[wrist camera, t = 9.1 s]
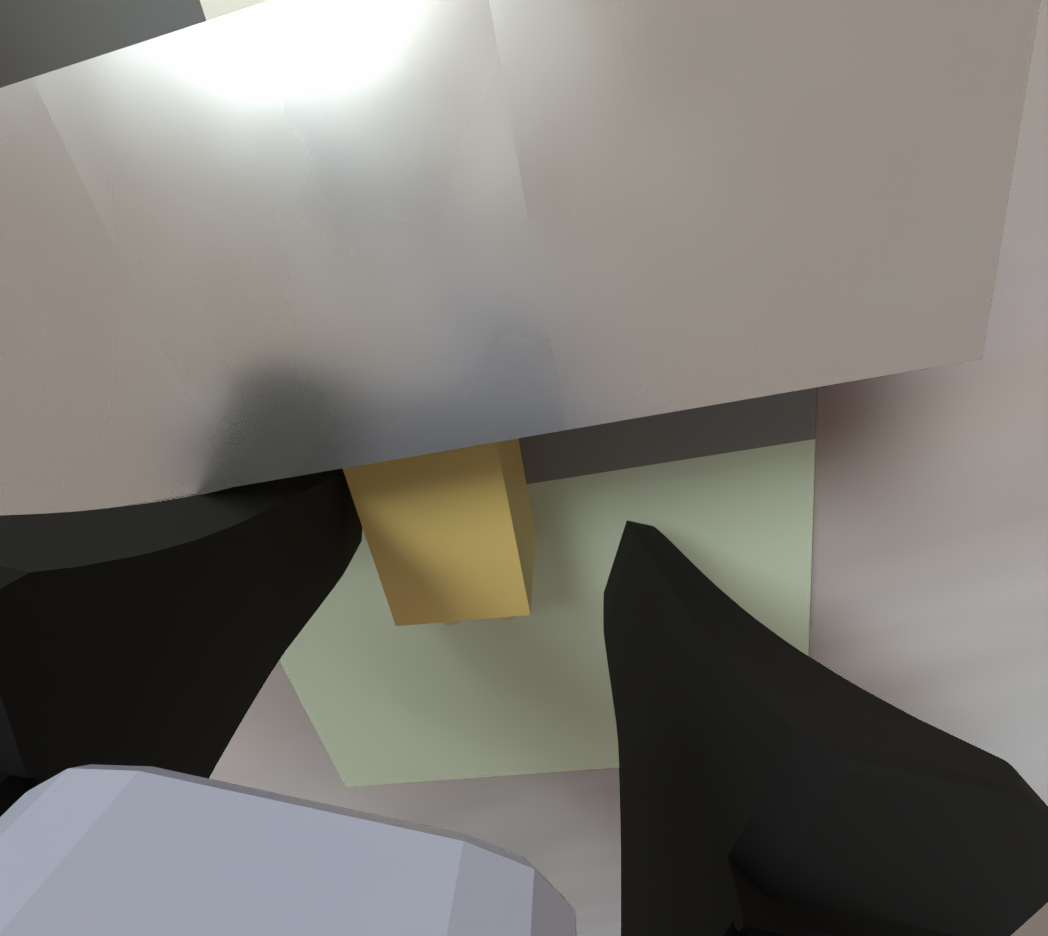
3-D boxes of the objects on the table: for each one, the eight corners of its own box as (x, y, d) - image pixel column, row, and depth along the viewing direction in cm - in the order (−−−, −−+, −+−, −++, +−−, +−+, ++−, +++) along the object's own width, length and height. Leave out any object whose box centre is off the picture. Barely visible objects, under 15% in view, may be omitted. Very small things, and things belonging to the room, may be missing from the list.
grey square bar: (67, 217, 10) (-311, 187, 6) (798, 18, 8) (1083, -262, 4) (177, 431, 12) (-45, 534, 8) (794, 312, 10) (982, 359, 6)
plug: (201, -259, 8) (-1, -550, 5) (384, -320, 7) (276, -674, 4) (437, 579, 14) (407, 660, 11) (541, 569, 13) (537, 650, 11)
